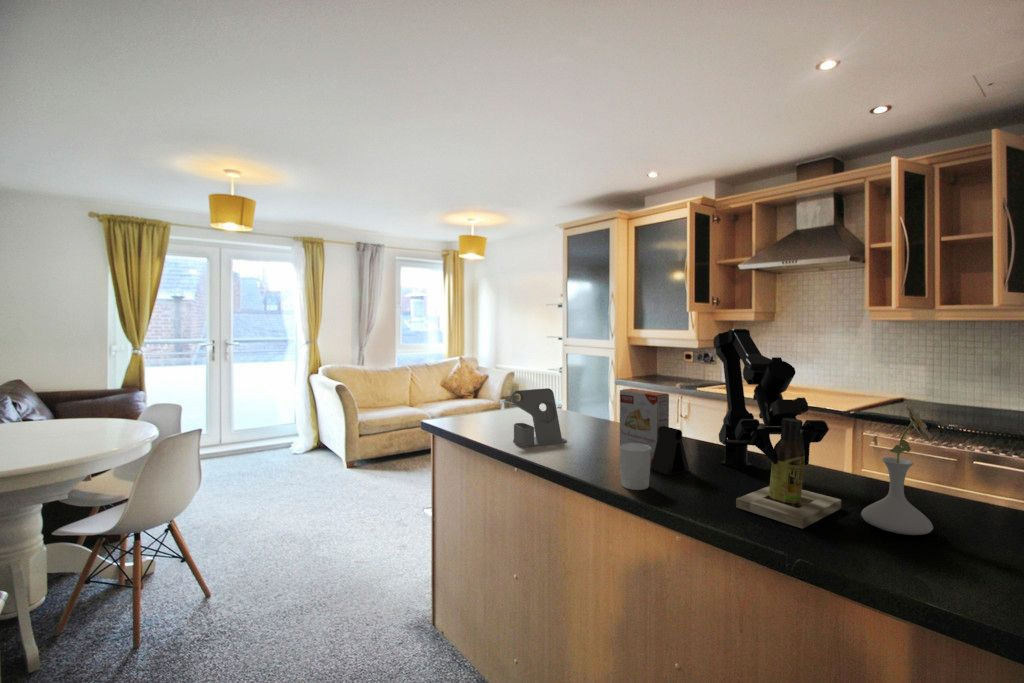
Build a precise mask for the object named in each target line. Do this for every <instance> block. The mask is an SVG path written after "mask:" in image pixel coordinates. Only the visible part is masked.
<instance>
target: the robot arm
mask: <svg viewBox="0 0 1024 683" xmlns="http://www.w3.org/2000/svg"><path fill="white" fill-rule="evenodd" d="M712 343H713V348H714V349H715V353H716V354H715V355H716V357H718V358H719V360H720V361H721V362H722V364H723V365H722V366H723V374H724V383H725V392H726V401H727V402H726V403H727V411H726V414H725V416H724V417H723V419H722V421H723V424H722V425H721V428H720V431H719V433H718V439H719V441H718V442H719V443H721V444H722V445H723V446H725V447H724V448H725V449H724V460H721V461H719V464H721V465H725V466H727V467H728V466H729V467H733V468H736V469H744V468H747V467H750V466H753V465H754V464H753V463H752V462H749V461H748V447H749V446H753V447H754V446H755V447H757V449H758V450H759V451H761V452H762V453H763V454H764V456H766V457H767V458H768V460H770V461H771V463H772V462H773V463H774V464H777V463H778V461H777V457H776V454H775V451H774V446H773V443H772V440H771V436H770V435H778V436H779V435H780V436H781V432H782V424H781V422H782V418H794V419H797V416H799V415H802V414H805V413H807V412H808V411H809V409H810V408H809V403H808V402H807V401H808V400H807V399H806V397H796V398H794V399H784V397H783V395H782V393H785V392H786V391H787V390H788V388H789V386H790V384H791V383H792V381H793V379H794V377H795V375H796V369H795V367H794V366H793V365H792V364H790V363H789V362H787V361H785V360H783V359H782V357H780V356H779V357H777V356H776V357H775V356H774V357H771V358H769V357H767V356H766V355H765V356H764V355H763V354H762V353H761V352H760V350H759V348H758V347H757V345H756V343H755V342H754V340H753V338H752V336H751V332H750V330H749V329H747V328H731V329H729V330H727V331H724V332H719V333H718V334H716V335H715V336H714V337H713V342H712ZM741 361H742V363H743V369H742V367H741ZM742 375H743V376H742ZM743 379H744V380H745V381H746V382H745V383H746V384H748V385H751V386H752V385H755V388H754V389H753V398H752V399H753V401H756V403H757V406H758V409H759V414H758V417H759V419H761V420H762V421H763V423H762V422H760V420H759V419H758V418H755V416H754V415H753V413H751V412H750V411H748V409H747V407H746V400H745V393H744V392H745V391H744V383H743ZM829 431H830V427H829V426H828V423H827V422H826V421H825V420H822V419H806V420H805V421H804V422H803V424H802V428H801V433H800V438H801V439H800V443H801V445H802V447H803V448H804V451H805V462H804V466H808V465H809V463H810V445H811V443H820V442H821V441H823V440H824V438H825V437H826V435H827V433H828V432H829Z"/></svg>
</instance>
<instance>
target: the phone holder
mask: <svg viewBox="0 0 1024 683" xmlns="http://www.w3.org/2000/svg"><path fill="white" fill-rule="evenodd" d="M517 394H518V395H519V396H520V399H519V400H518V401H517V400H516V399H515V395H517ZM510 398H511V403H512V404H513V405H514V406H516V407H517V408H519V409H520V410H522V411H524V412H526V413H527V414H529V415H531V417H532V422H533V425H530V424H527V423H524V422H516V423H514V424H513V440H512V442H513V443H514V444H516V445H518V446H520V447H522V448H526V449H528V448H534V447H541V446H550V445H557V444H565V443H567V442H568V440H567V439H566V438H563V437H562V433H561V428H560V427H561V425H560V420H559V416H558V411H557V410H558V409H557V405H556V397H555V394H554V391H553V390H552V389H551V388H534V389H521V390H516V391H514V392H512V393H511V396H510ZM542 404H544V405H545V410H542V409H540V406H541V405H542Z"/></svg>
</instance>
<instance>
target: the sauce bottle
mask: <svg viewBox="0 0 1024 683" xmlns="http://www.w3.org/2000/svg"><path fill="white" fill-rule="evenodd" d="M781 424H782V432H781V435H780V439H779V440H778V441H777V442H776V443H775V445H774V446H773V448H774V451H775V454H776V457H777V461H778V463H777V464H774V463H773V462H772V461H771V468H770V469H771V471H770V478H769V486H770V488H769V496H770V498H769V500H772V501H775V502H779V503H782V504H786V505H789V506H792V507H796V508H800V505H799V504H800V502H801V493H802V490H803V482H804V472H805V471H804V470H805V464H804V462H805V451H804V448H803V447H802V445H801V443H800V439H801V438H800V433H801V428H802V426H803V424H804V421H803V420H801V419H798V418H796V419H794V418H782V422H781Z"/></svg>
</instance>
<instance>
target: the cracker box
mask: <svg viewBox="0 0 1024 683" xmlns="http://www.w3.org/2000/svg"><path fill="white" fill-rule="evenodd" d="M669 414H670V393H665V392H658V391H651V390H645V389H638V388H631V387H630V388H624V389H620V390H619V446H620V445H621V444H626V443H638V444H644V445H648V446H650V447H651V463H650V466H651V464H652V460H653V456H654V452H655V448H656V444H657V440H658V429H659V427H660V426H662V427H663V426H666V427H670V425H669V424H670V423H669V421H670V418H669V416H670V415H669Z"/></svg>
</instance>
